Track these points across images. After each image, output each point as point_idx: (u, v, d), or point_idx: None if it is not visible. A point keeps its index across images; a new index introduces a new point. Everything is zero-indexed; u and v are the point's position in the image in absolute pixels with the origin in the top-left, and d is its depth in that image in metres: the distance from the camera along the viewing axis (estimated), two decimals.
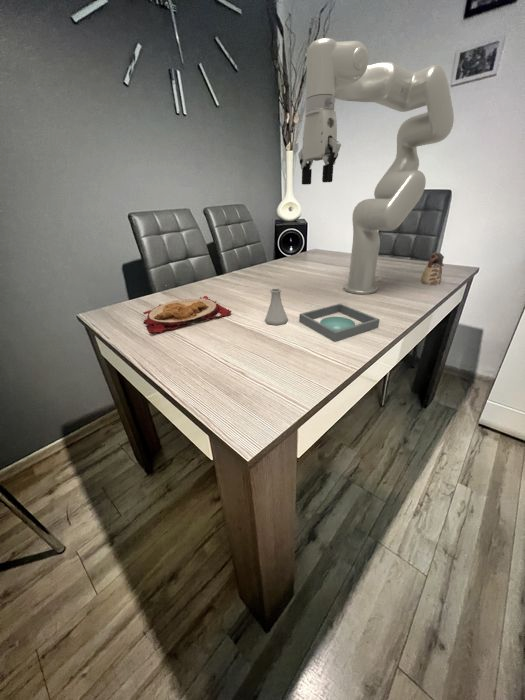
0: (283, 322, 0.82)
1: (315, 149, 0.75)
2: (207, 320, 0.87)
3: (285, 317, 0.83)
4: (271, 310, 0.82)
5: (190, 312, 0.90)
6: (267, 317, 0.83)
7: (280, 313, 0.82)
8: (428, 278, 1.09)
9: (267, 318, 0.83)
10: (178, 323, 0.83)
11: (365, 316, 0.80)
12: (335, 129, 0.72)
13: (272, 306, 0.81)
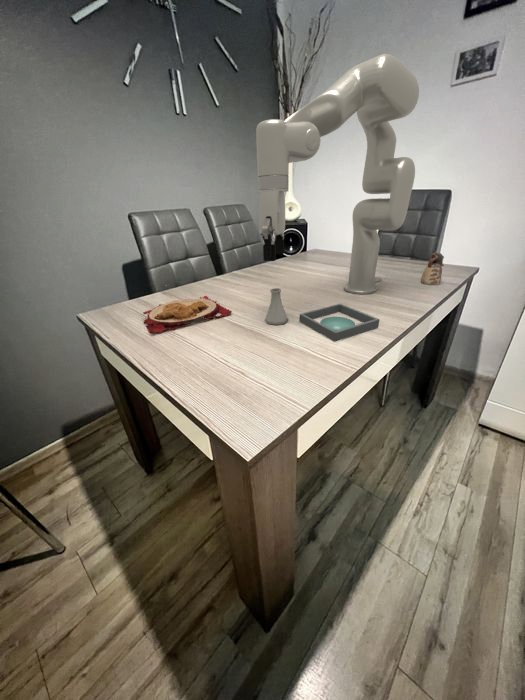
0: (283, 322, 0.82)
1: (283, 225, 0.73)
2: (207, 320, 0.87)
3: (285, 317, 0.83)
4: (271, 310, 0.82)
5: (190, 312, 0.90)
6: (267, 317, 0.83)
7: (280, 313, 0.82)
8: (428, 278, 1.09)
9: (267, 318, 0.83)
10: (178, 323, 0.83)
11: (365, 316, 0.80)
12: None
13: (272, 306, 0.81)
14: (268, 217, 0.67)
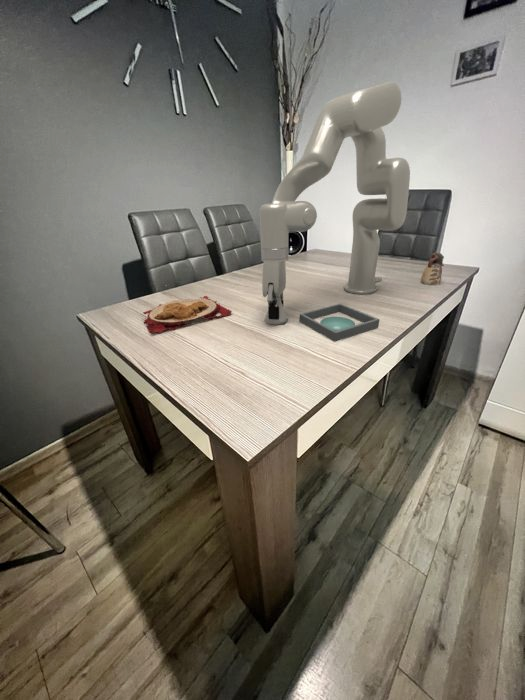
0: (283, 322, 0.82)
1: (284, 285, 0.81)
2: (207, 320, 0.87)
3: (285, 317, 0.83)
4: None
5: (190, 312, 0.90)
6: (267, 317, 0.83)
7: (280, 313, 0.82)
8: (428, 278, 1.09)
9: (267, 318, 0.83)
10: (178, 323, 0.83)
11: (365, 316, 0.80)
12: None
13: None
14: (271, 285, 0.75)
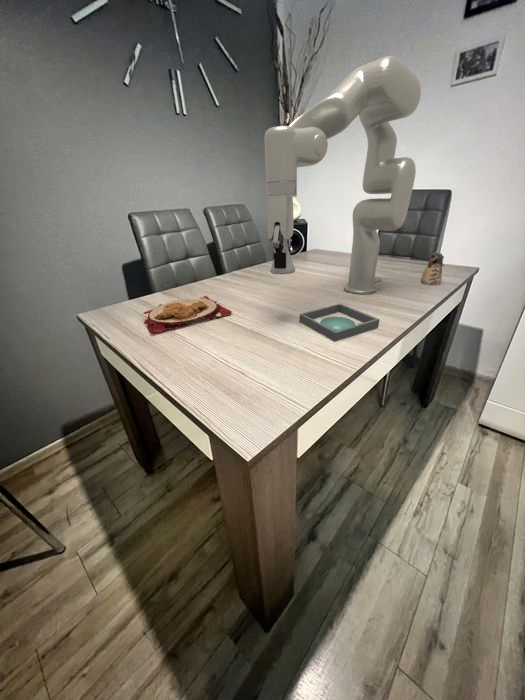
0: (290, 272, 0.75)
1: (291, 230, 0.73)
2: (207, 320, 0.87)
3: (292, 267, 0.75)
4: None
5: (190, 312, 0.90)
6: (272, 267, 0.76)
7: (286, 261, 0.74)
8: (428, 278, 1.09)
9: (272, 268, 0.76)
10: (178, 323, 0.83)
11: (365, 316, 0.80)
12: None
13: None
14: (277, 225, 0.67)
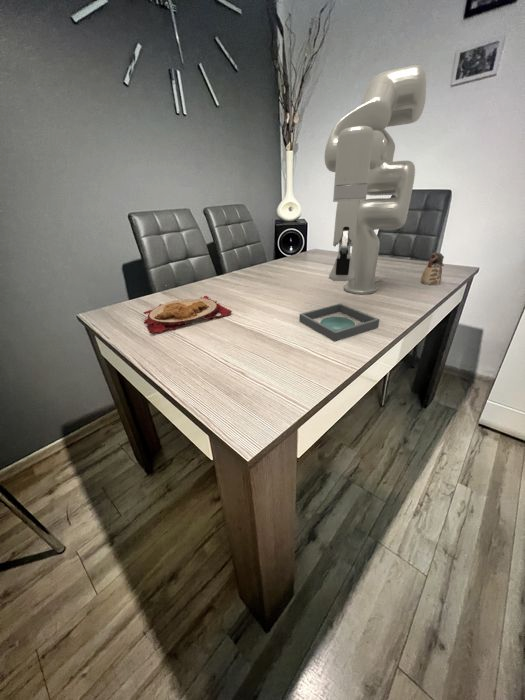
0: (352, 278, 0.71)
1: None
2: (206, 320, 0.87)
3: (353, 273, 0.72)
4: None
5: (190, 312, 0.90)
6: (332, 273, 0.72)
7: (349, 267, 0.71)
8: (428, 278, 1.09)
9: (333, 274, 0.72)
10: (179, 323, 0.83)
11: (365, 316, 0.80)
12: None
13: None
14: (345, 230, 0.64)
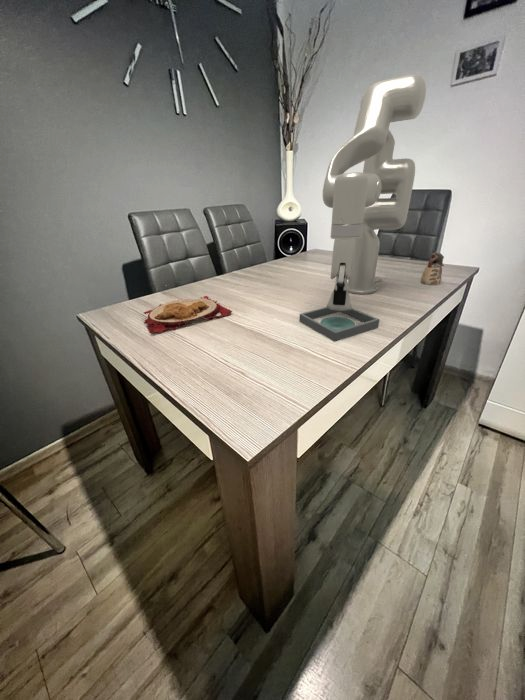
0: (348, 308, 0.75)
1: None
2: (208, 319, 0.87)
3: (350, 303, 0.76)
4: None
5: (191, 312, 0.90)
6: (330, 303, 0.76)
7: None
8: (428, 278, 1.09)
9: (330, 304, 0.76)
10: (179, 323, 0.83)
11: (365, 316, 0.80)
12: None
13: None
14: (342, 266, 0.68)
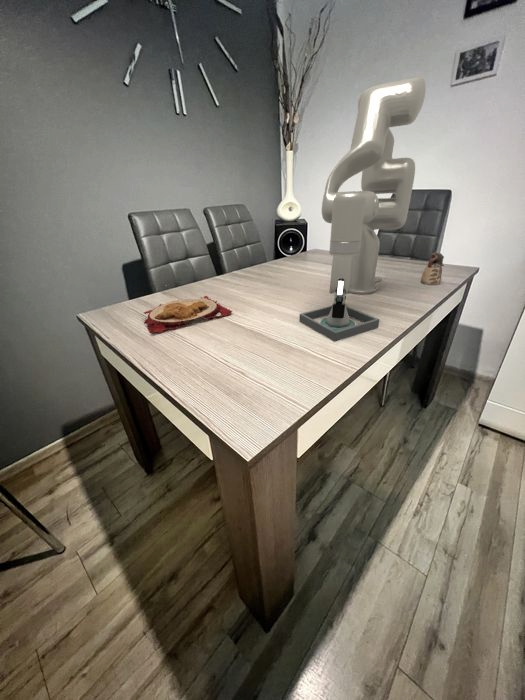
0: (347, 324, 0.78)
1: None
2: (208, 319, 0.87)
3: (348, 319, 0.79)
4: None
5: (191, 312, 0.90)
6: (329, 319, 0.79)
7: (344, 314, 0.77)
8: (428, 278, 1.09)
9: (329, 320, 0.79)
10: (179, 323, 0.83)
11: (365, 316, 0.80)
12: None
13: None
14: (340, 280, 0.70)
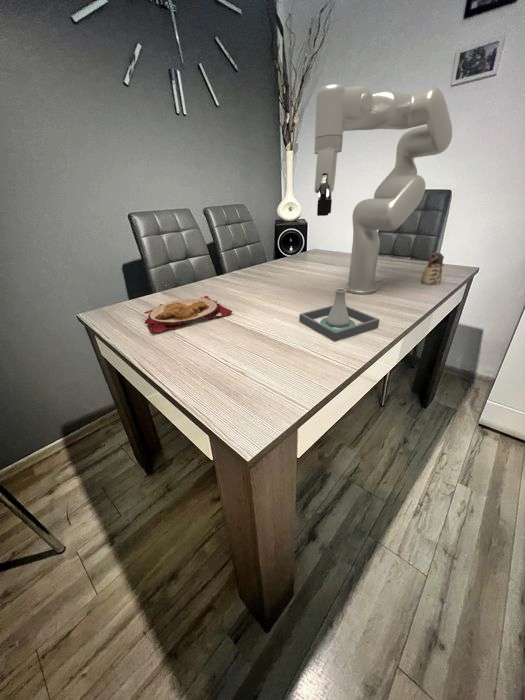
0: (347, 324, 0.78)
1: None
2: (208, 319, 0.87)
3: (348, 319, 0.79)
4: (335, 311, 0.77)
5: (191, 312, 0.90)
6: (329, 319, 0.79)
7: (344, 314, 0.77)
8: (428, 278, 1.09)
9: (329, 320, 0.79)
10: (179, 323, 0.83)
11: (365, 316, 0.80)
12: None
13: (336, 307, 0.77)
14: (324, 174, 0.75)
